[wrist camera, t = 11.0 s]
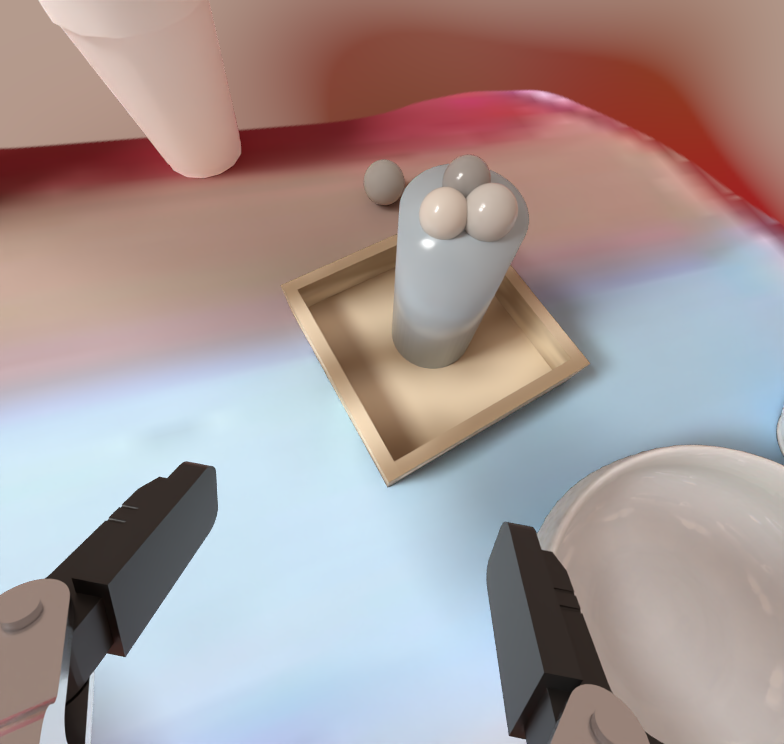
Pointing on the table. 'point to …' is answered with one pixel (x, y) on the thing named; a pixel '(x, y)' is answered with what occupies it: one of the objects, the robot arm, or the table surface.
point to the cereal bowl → (683, 588)
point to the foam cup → (160, 74)
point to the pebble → (384, 182)
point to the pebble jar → (452, 257)
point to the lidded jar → (781, 432)
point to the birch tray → (417, 384)
